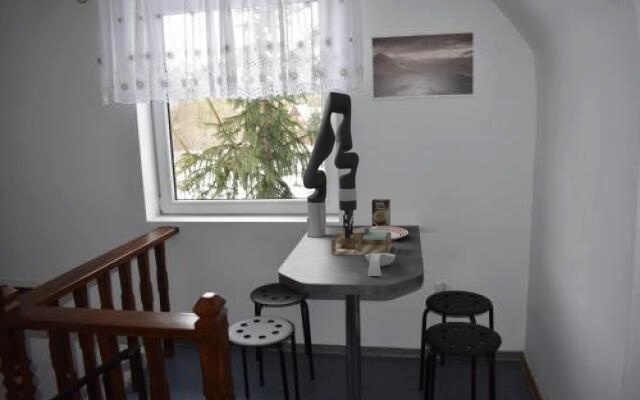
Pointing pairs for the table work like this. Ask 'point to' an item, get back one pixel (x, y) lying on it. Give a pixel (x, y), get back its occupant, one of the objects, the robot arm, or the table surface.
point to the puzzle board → (361, 245)
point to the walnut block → (348, 242)
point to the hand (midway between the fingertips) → (348, 235)
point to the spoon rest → (378, 262)
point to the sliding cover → (374, 234)
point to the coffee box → (380, 212)
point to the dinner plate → (395, 231)
